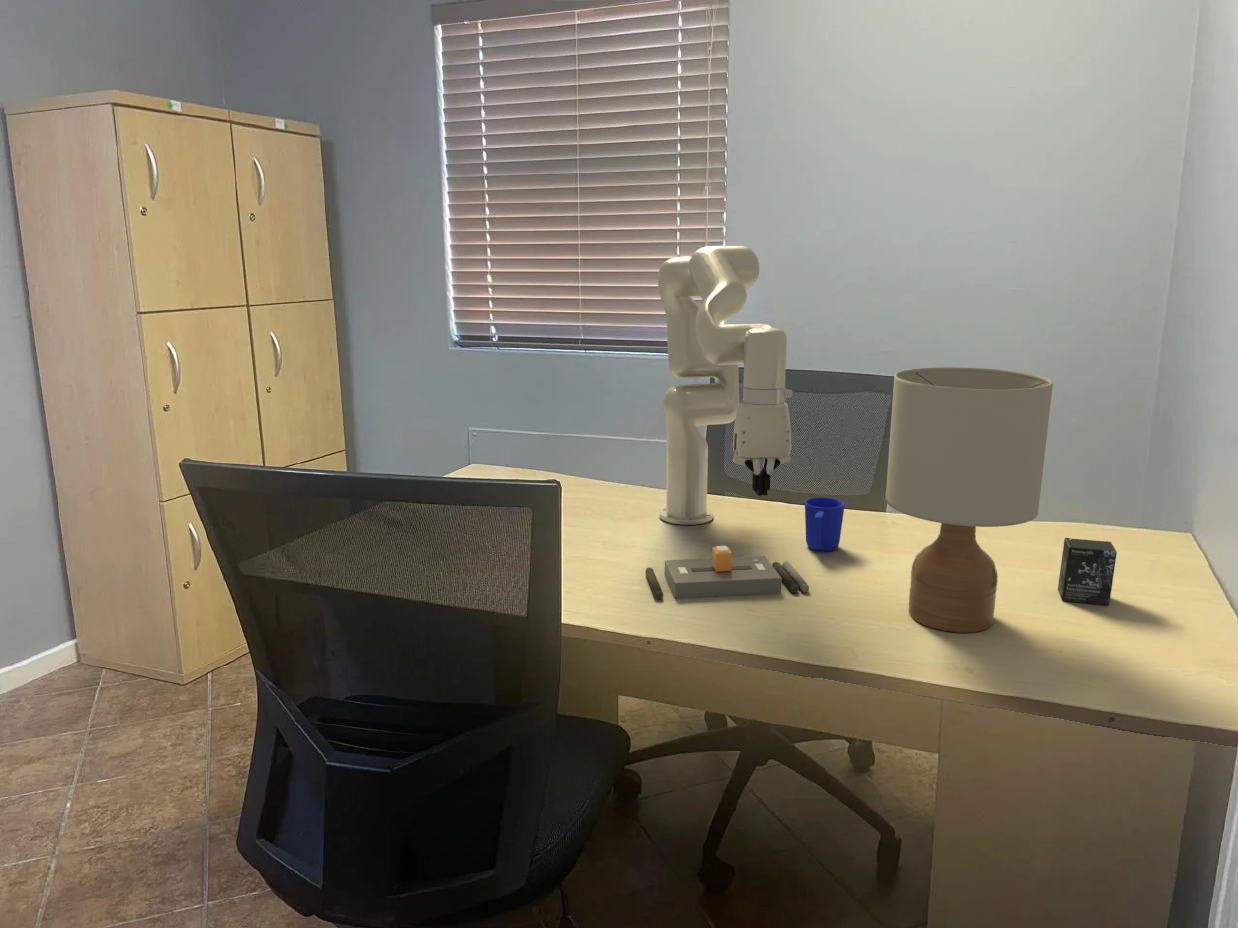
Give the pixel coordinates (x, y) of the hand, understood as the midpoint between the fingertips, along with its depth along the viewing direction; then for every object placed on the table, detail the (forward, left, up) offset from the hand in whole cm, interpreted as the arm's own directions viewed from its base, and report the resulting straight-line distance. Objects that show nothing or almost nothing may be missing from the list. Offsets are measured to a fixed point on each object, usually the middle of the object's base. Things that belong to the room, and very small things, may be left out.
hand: (760, 493), depth 168 cm
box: (+15, +57, -18) cm, 62 cm away
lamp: (+20, +29, -18) cm, 39 cm away
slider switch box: (0, -7, -18) cm, 19 cm away
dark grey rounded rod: (0, -20, -18) cm, 27 cm away
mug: (-16, +18, -18) cm, 30 cm away
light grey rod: (0, +7, -18) cm, 19 cm away
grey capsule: (0, +5, -18) cm, 19 cm away
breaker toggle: (0, -7, -15) cm, 16 cm away
